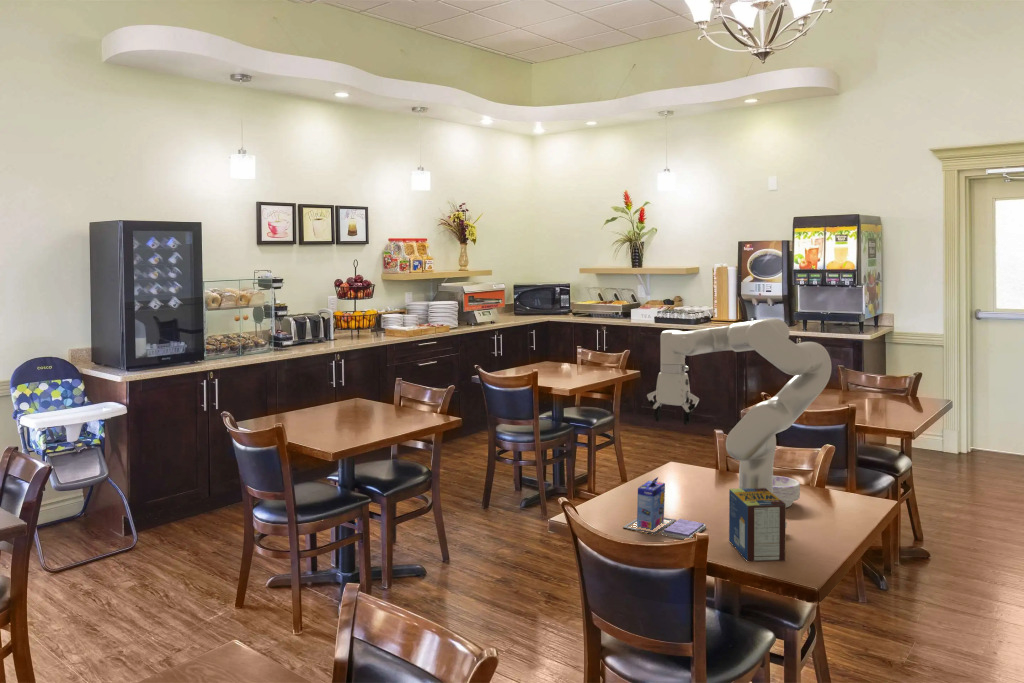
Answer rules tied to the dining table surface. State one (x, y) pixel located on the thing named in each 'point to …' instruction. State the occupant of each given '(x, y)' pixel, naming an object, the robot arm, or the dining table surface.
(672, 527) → the ink pad
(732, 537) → the protein box
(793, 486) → the paper bowls
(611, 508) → the dining table surface
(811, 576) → the dining table surface
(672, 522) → the marked card
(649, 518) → the ink cartridge box
